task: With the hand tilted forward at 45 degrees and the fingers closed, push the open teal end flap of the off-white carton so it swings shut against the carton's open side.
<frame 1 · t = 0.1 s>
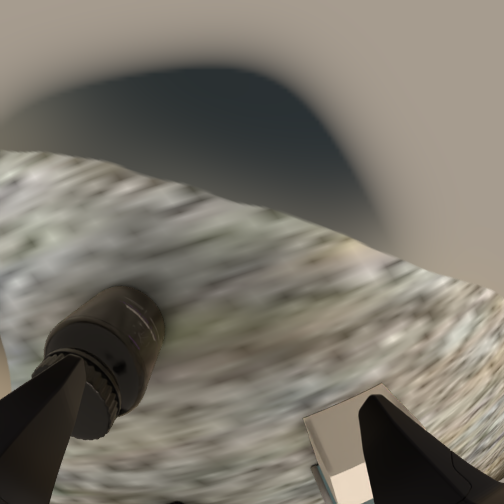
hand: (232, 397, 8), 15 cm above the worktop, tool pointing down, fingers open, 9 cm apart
flap: (347, 495, 24), point 4 cm above the worktop, hinge at 60.0°
supplement bottle: (126, 322, 23), on the worktop
carton: (348, 425, 27), on the worktop
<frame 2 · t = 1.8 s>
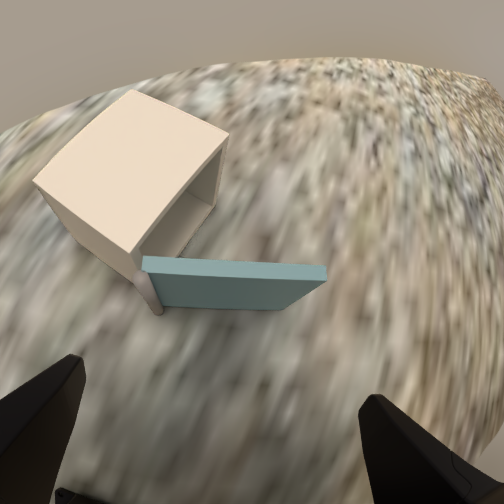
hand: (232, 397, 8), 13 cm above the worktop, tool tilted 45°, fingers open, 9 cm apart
flap: (224, 295, 17), point 4 cm above the worktop, hinge at 60.0°
carton: (143, 221, 23), on the worktop
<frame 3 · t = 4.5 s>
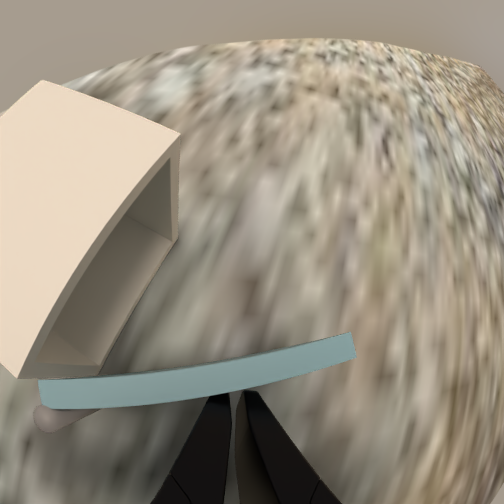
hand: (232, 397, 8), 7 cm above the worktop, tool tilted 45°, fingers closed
flap: (190, 385, 10), point 4 cm above the worktop, hinge at 52.1°, touching gripper
carton: (80, 267, 15), on the worktop
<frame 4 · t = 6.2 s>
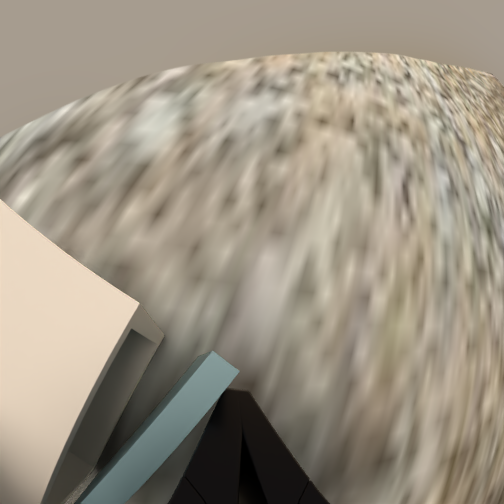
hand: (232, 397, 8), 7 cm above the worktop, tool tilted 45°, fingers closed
flap: (143, 457, 8), point 4 cm above the worktop, hinge at 10.7°, touching gripper
carton: (61, 365, 12), on the worktop
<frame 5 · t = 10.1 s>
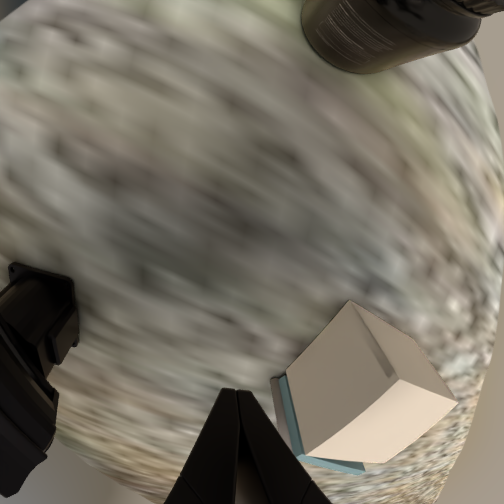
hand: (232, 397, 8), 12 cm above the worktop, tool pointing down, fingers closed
flap: (318, 430, 21), point 4 cm above the worktop, hinge at 10.4°
supplement bottle: (349, 28, 14), on the worktop
carton: (353, 355, 23), on the worktop
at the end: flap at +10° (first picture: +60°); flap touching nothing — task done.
